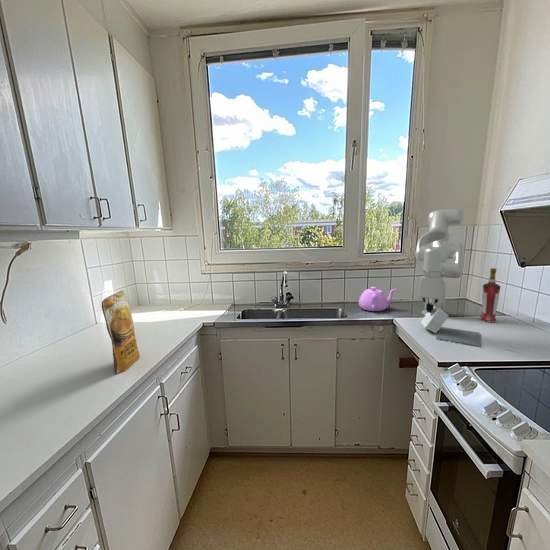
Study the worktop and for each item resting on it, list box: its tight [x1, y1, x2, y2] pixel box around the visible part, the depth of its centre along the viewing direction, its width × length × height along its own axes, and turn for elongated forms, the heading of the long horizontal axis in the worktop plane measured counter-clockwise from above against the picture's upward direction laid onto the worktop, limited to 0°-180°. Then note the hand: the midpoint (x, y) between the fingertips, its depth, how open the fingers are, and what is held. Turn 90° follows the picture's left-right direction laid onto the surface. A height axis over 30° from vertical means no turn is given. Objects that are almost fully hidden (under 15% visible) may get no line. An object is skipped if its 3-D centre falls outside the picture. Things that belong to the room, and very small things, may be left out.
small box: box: [420, 306, 450, 334], centre depth 138 cm, size 8×6×10 cm
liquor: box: [480, 267, 501, 323], centre depth 150 cm, size 7×7×28 cm
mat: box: [435, 326, 481, 348], centre depth 131 cm, size 18×16×1 cm
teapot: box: [358, 286, 397, 312], centre depth 177 cm, size 22×22×14 cm
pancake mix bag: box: [101, 290, 141, 374], centre depth 109 cm, size 7×19×28 cm, turn 0°
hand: (429, 311), depth 137 cm, fingers closed
